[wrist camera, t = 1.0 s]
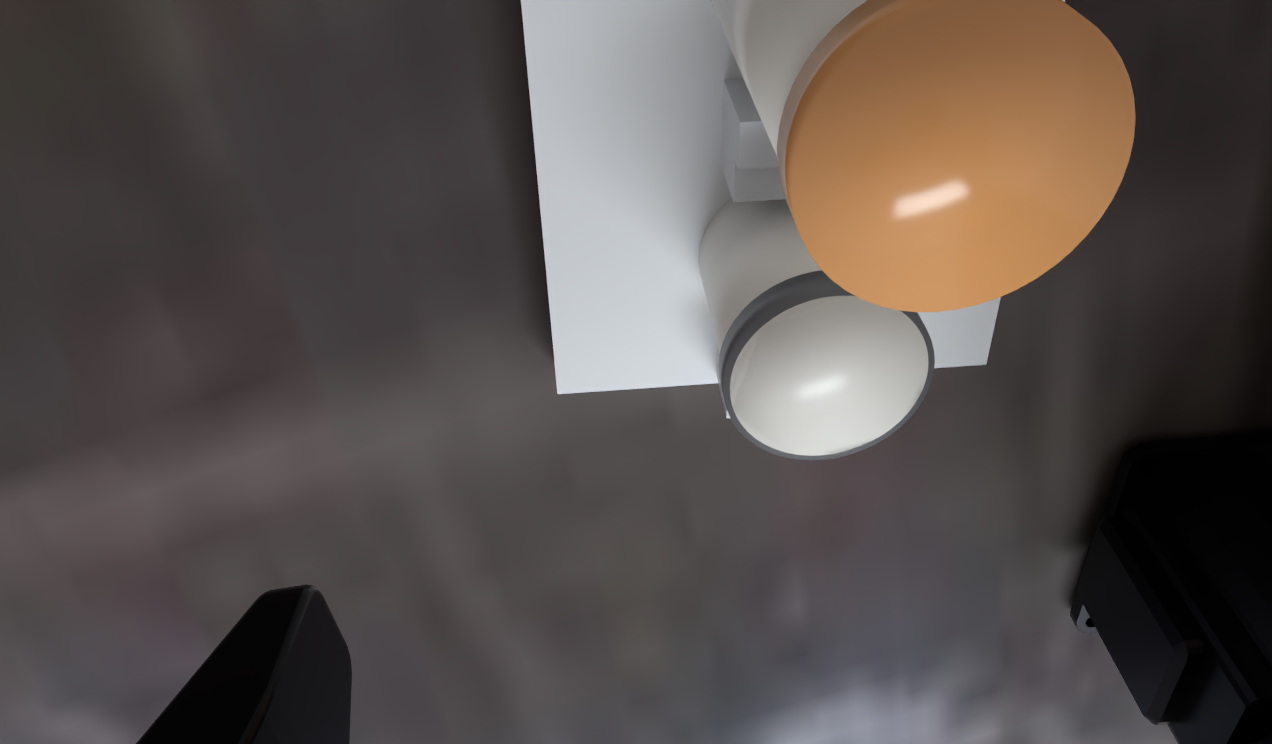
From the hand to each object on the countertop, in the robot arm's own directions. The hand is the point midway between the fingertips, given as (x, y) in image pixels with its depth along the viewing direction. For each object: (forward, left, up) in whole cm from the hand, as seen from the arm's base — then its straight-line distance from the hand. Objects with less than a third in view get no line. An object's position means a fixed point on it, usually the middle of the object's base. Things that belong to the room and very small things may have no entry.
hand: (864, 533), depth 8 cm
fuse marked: (-2, -2, -11) cm, 11 cm away
